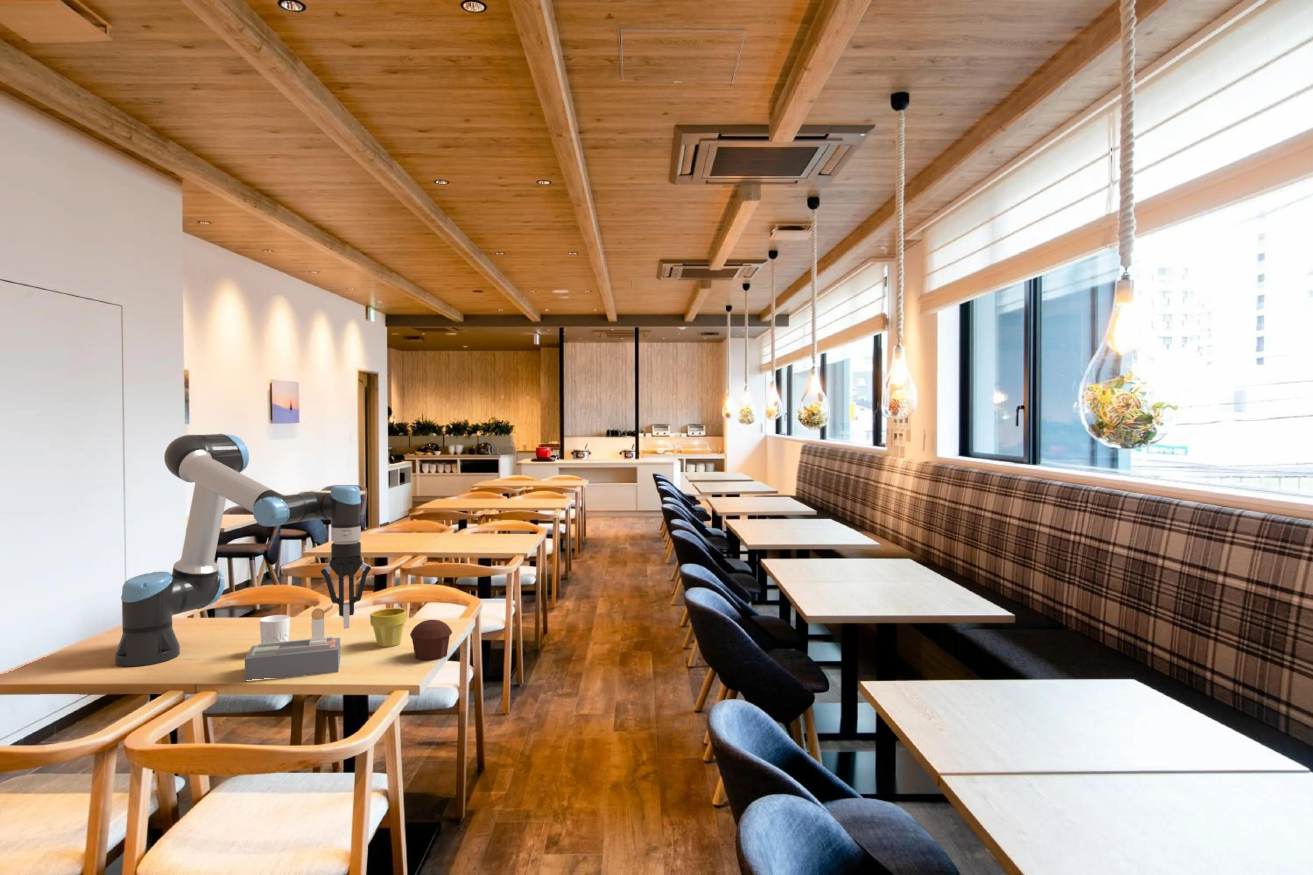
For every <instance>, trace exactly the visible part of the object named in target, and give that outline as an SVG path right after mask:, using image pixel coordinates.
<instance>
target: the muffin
mask: <svg viewBox="0 0 1313 875" xmlns="http://www.w3.org/2000/svg"><path fill="white" fill-rule="evenodd" d="M452 634H453V630H452V629H451V626H449V625H448V624H447V623H446V622H444V621H443V620H440V619H439V620H438V619H426V620H423V621H421V622H419V623H417V625H415V626H414V628H412V630H411V632H410V633H409V635H410V638H411V641H412V645H413V647H412V648H413V652H414V658H415V659H416V660H419V661H421V662H422V661H428V662H431V661H438V660H441V659H444V658H446V657H447V656H448V650H449V649H448V647H449V642H450V636H451V635H452Z"/></svg>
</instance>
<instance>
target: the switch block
mask: <svg viewBox="0 0 1313 875" xmlns="http://www.w3.org/2000/svg"><path fill="white" fill-rule="evenodd" d="M310 639H311V638H308V639H307V638H306V639H296V640H289V641H284V642H273V643H263V644H261V643H259V644H258V645H252V646H250V649H249V651H248V652H247V654H246V656H245V657H244V681H245V680H252V679H264V678H279V679H285V678H286V677H288V678H296V677H295V676H297V677H304V676H303V675H306V676H314V675H313V674H315V675H322V674H321V673H324V674H332V672H333V673H339V669H340V664H341V637H334V638H333V637H332V636H329V637H327V642H326V644H320V645H310V646H309V642H310Z"/></svg>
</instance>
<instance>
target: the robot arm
mask: <svg viewBox="0 0 1313 875" xmlns="http://www.w3.org/2000/svg"><path fill="white" fill-rule="evenodd" d="M163 458H164V463H165V466H166V468H167V469H168V471H169V472H170V473H171V474H172V475H174V476H175V477H176V478H179V479H180V480H182V481H184V482H187V483H194V489H193V492H192V494H193V495H192V498H191V504H190V509H189V515H188V519H187V526H186V530H185V536H184V540H183V545H182V551H181V557H180V559H179V560H177V561H176V562H174V563H173V568H172V572H168V571H153V572H150V573H148V572H147V573H143V574H140V575H137V576H133V577H131V578H129V579H127V580H126V581H125V582H124V584H122V591H121V598H120V599H121V609H122V610H121V614H122V615H121V617H122V618H121V619H122V620H121V624H122V636H121V638H120V641H119V644H118V646H117V649H116V651H115V654H114V664H115V665H117V666H121V667H140V666H148V665H154V664H155V665H156V664H160V663H163V662H166V661H169V660H173V659H175V658H177V657H178V656H179V655H180V654H181V646H180V643H179V640H178V638H177V636H176V633H175V631H174V628H173V616H175V615H179V614H182V613H186V612H190V611H194V610H200V609H203V608H205V607H206V608H207V607H208V606H212V605H214V604H215V603H216V602H218V600H219V599H220V598H221V596H222V595H223V592H224V590H225V579H224V575H223V573H222V571H221V570H219V565H218V564H217V563H216V562H215V559H216V552H217V548H218V542H219V537H220V531H221V527H222V521H223V516H224V511H225V507H226V506H225V505H226V501H227V500H229V501H230V502H232V503H234V504H235V505H238V506H240V507H241V508H243V509H245V510H247V511H249V512H251V513H252V516H253V518H254V520H255V521H256V523H257V524H258V525H260V526H262V527H279V526H282V525H289V524H294V523H300V522H308V521H314V520H328V521H329V520H330V536H331V537H330V538H331V539H330V541H331V542H333V543H331V546H330V549H331V550H330V552H331V553H330V554H331V556H330V557H331V558H330V561H329V563H328V565H326V566H325V567H322V568H321V569H320V573H321V575H322V576H323V577H324V579H325V583H326V585H327V590H328V594H329V597H330V600H331V603H332V604H337V605H338V616H339V617H343V629H350V628H351V624H350V622H351V619H350V618H351V616H354V613H355V603H358V602H360V601H361V599H362V596H363V592H364V587H365V583H366V581H367V580H366V579H367V575H368V574H369V573H370V571H371V570H372V566H371V565H370V564H367V563H365V562H364V561H363V558H362V548H361V547H362V543H361V541H360V540H361V539H362V538H361V537H362V536H361V535H362V533H361V532H362V531H361V530H362V527H361V526H362V525H361V506H362V500H361V491H360V490H361V489H360V487H359V486H357V485H353V484H352V485H346V484H345V485H334V486H332V487H331V489H330V492H325V491H324V492H322V491H320V492H319V491H314V490H313V491H312V490H311V491H302V492H299V493H296V494H289V495H287V494H286V495H285V494H281V493H280V492H278V491H275V490H273V489H271V488H270V487H268V486H266V485H264V484H262V483H260V482H258V481H256V480H254V479H252V478H251V477H248V476H247V475H245V474H243V473H242V472H243V471H244V470H246V469H247V467H248V465H249V461H250V454H249V449H248V447H247V446H246V444H245V442H244V441H243V440H242V439H241V438H240V437H238V436H236V435H234V434H224V433H218V434H216V433H215V434H213V433H211V434H185V435H182V436H179V437H177V438H176V439H174V440H173V441H171V442H170V443H169V444H168V446H167V447H166V449H165V452H164V457H163ZM360 568H361V572H362V573H361V575H360V576H361V577H360V581H359V585H358V589H357V593H356V596H355V575H356V574H357V572H358V571H359V570H360ZM332 571H333V572H334V573H335V575H337V576H338V597H337V594H336V591H335V590H336V589H335V587H334V586H335V585H334V582H333V579H332V577H331V573H332ZM346 576H348V602H345V577H346Z"/></svg>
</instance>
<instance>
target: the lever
mask: <svg viewBox="0 0 1313 875" xmlns="http://www.w3.org/2000/svg"><path fill="white" fill-rule="evenodd" d="M309 639H310V642H309V646H310V645H320V644H326V642H327V635H325V612H324V610H323V609H322V608H318V607H317V608H315V609H313V610H312V612H311V637H310V638H309Z"/></svg>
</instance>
